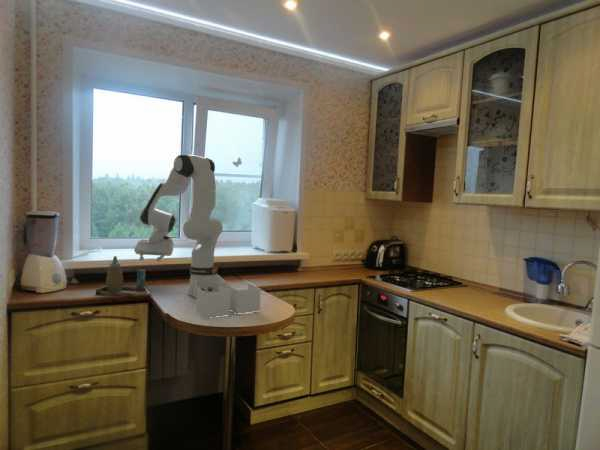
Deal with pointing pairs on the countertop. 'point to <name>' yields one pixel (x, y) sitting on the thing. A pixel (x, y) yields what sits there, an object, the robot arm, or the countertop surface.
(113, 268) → the squeeze bottle
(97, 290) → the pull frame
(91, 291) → the countertop surface
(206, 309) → the storage container
